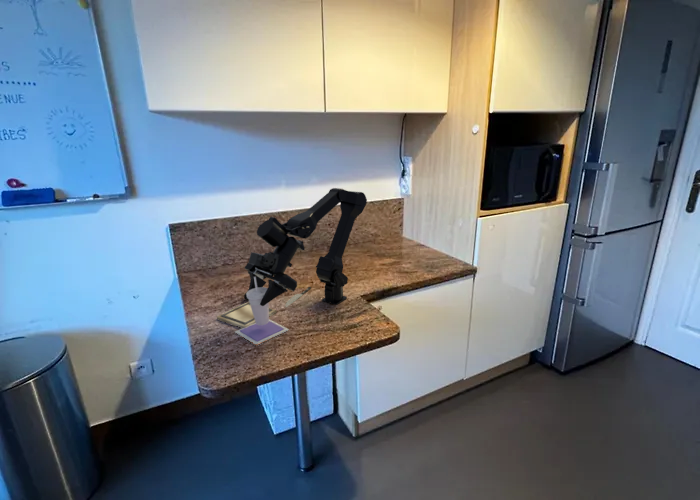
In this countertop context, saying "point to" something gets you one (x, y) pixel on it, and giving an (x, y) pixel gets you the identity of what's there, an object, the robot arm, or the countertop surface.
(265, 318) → the smoothie
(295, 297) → the chef's knife
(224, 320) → the board
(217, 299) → the countertop surface
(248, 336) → the ink pad
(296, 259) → the countertop surface
